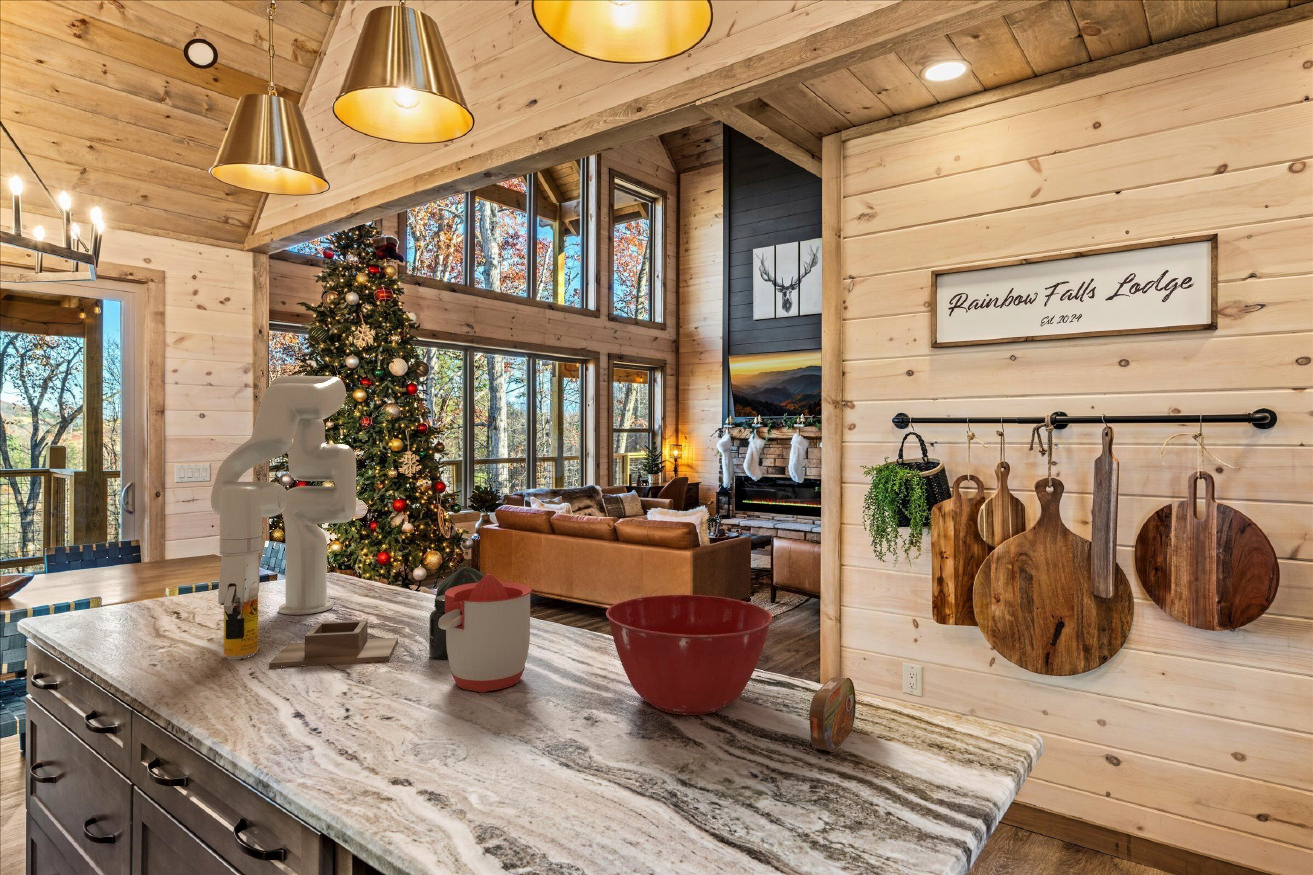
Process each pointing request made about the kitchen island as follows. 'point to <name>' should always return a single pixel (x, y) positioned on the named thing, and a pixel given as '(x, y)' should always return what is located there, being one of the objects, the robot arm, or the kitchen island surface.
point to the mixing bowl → (688, 649)
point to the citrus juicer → (487, 633)
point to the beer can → (245, 629)
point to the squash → (460, 579)
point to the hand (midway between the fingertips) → (241, 632)
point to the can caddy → (336, 646)
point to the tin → (832, 713)
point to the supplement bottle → (437, 631)
